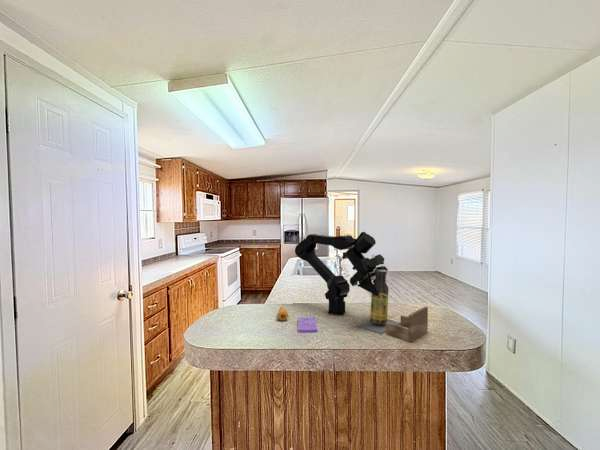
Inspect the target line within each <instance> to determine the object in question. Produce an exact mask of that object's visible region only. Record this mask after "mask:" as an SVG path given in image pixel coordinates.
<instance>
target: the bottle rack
mask: <svg viewBox="0 0 600 450" xmlns="http://www.w3.org/2000/svg"><path fill="white" fill-rule="evenodd" d="M428 312H429V307H428V306H422V307H421V308H420V309H418V310H415V311H413V312H412V313H410V314H408V316H407V315H404V314H403V315H402V314H401V315H400V323H401V324H400V325H396V324H392V323H389V322H387V323H386V332H385V334H386V335H388V336H391V337H395V338H398V339H401V340H403V341H407V342H408V343H413V342H415V341H416V340H418V339H419V338H420V337H422V336H424V335H425V334H427V333H428V327H429V326H428V323H429V322H428V321H429V319H428V318H429V317H428V315H429V313H428Z"/></svg>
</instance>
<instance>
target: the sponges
mask: <svg viewBox="0 0 600 450" xmlns="http://www.w3.org/2000/svg"><path fill="white" fill-rule="evenodd" d="M297 322H298V323H297V332H298V333H299V332H300V333H299V334H303V333H305V334H306V333H307V334H308V333H311V334H312V333H314V334H315V333H318V325H317V319H316V316H309V317H308V316H305V317H299V316H298V317H297Z"/></svg>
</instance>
